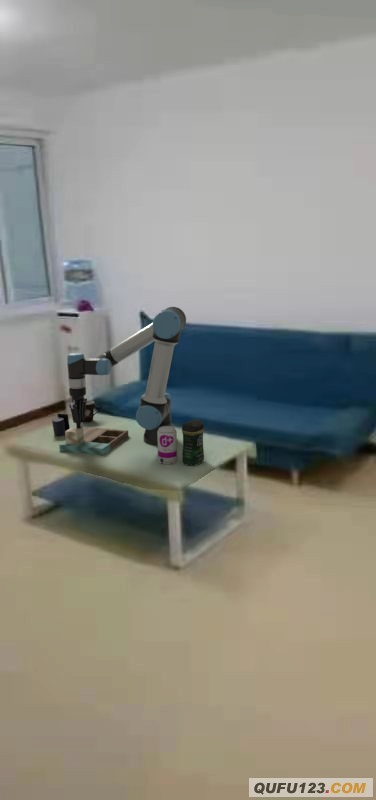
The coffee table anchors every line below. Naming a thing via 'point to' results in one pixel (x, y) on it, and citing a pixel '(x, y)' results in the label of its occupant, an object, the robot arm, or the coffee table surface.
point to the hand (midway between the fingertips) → (80, 435)
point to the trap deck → (96, 441)
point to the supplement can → (167, 444)
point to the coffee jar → (193, 442)
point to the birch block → (74, 436)
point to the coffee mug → (90, 411)
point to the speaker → (60, 424)
